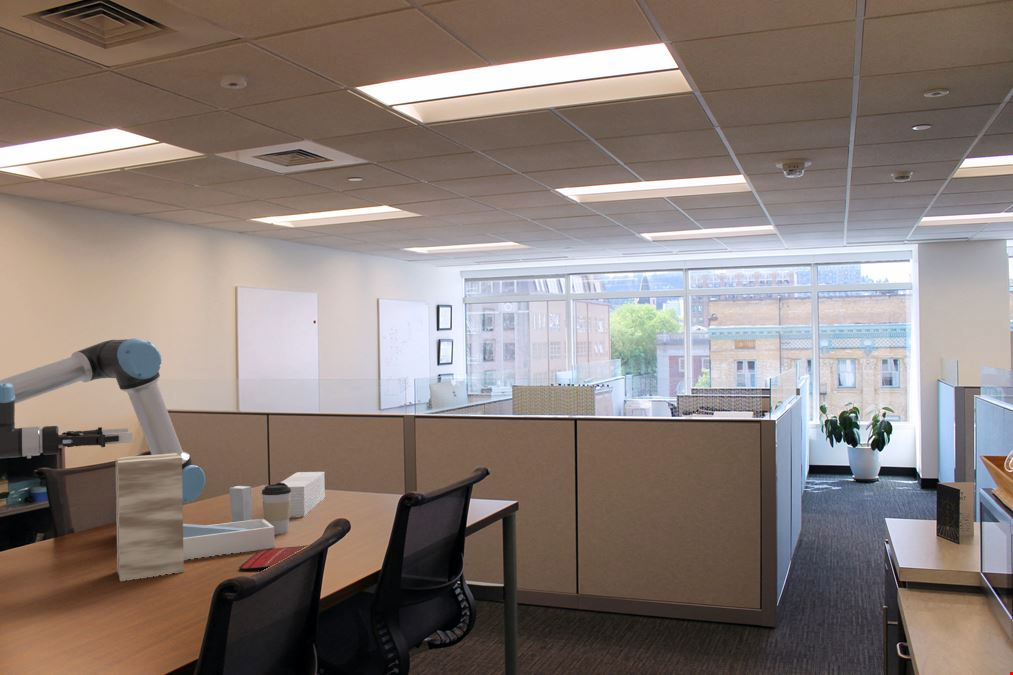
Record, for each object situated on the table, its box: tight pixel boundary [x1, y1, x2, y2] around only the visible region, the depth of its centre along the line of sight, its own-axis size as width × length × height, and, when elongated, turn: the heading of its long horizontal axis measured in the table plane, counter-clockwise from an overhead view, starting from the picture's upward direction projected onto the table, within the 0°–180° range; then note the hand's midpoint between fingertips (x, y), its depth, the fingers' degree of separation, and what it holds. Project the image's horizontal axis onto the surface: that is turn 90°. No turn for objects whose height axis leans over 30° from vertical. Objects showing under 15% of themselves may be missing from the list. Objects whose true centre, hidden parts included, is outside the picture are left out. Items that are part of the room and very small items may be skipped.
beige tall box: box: [115, 453, 185, 582], centre depth 211 cm, size 11×15×30 cm
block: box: [183, 523, 248, 538], centre depth 231 cm, size 4×26×4 cm, turn 119°
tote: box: [183, 518, 276, 561], centre depth 232 cm, size 14×33×6 cm, turn 119°
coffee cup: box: [261, 482, 291, 535], centre depth 254 cm, size 9×9×15 cm
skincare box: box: [229, 485, 254, 523], centre depth 268 cm, size 6×4×12 cm
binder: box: [238, 544, 309, 572], centre depth 220 cm, size 16×2×21 cm
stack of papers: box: [279, 471, 326, 517], centre depth 292 cm, size 32×11×11 cm, turn 0°
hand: (130, 434), depth 222 cm, fingers open, 13 cm apart
